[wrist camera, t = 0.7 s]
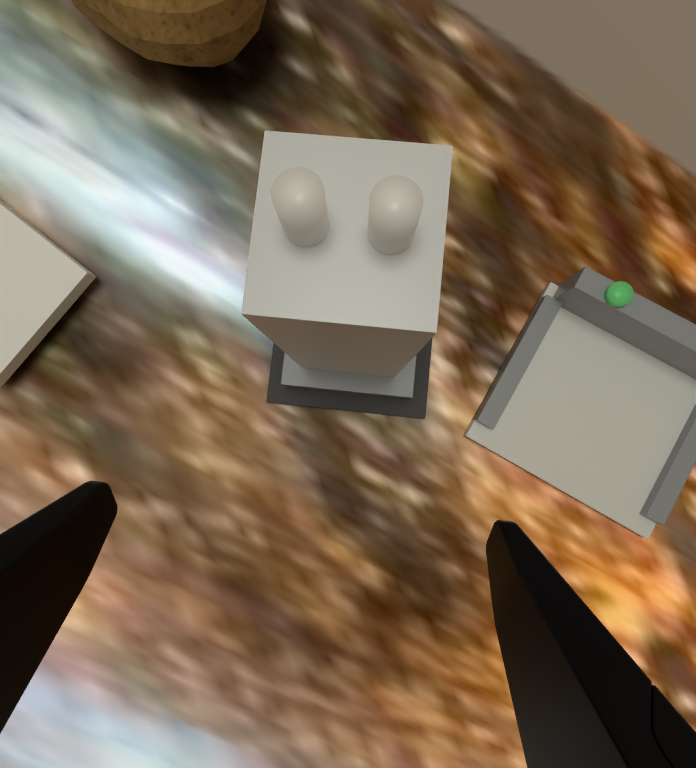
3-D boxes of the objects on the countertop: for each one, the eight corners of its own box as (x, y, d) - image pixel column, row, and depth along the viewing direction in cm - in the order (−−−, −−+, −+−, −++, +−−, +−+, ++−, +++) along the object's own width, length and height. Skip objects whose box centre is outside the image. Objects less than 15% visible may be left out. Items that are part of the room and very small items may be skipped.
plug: (408, 398, 22) (493, 368, 8) (286, 386, 23) (170, 336, 9) (420, 278, 23) (517, 62, 9) (299, 267, 23) (212, 39, 9)
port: (641, 536, 22) (693, 558, 18) (463, 435, 22) (482, 438, 19) (723, 375, 22) (789, 368, 19) (548, 282, 23) (580, 258, 20)
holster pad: (424, 418, 23) (425, 418, 22) (267, 402, 23) (266, 401, 23) (437, 265, 23) (438, 263, 23) (286, 251, 24) (284, 249, 23)
